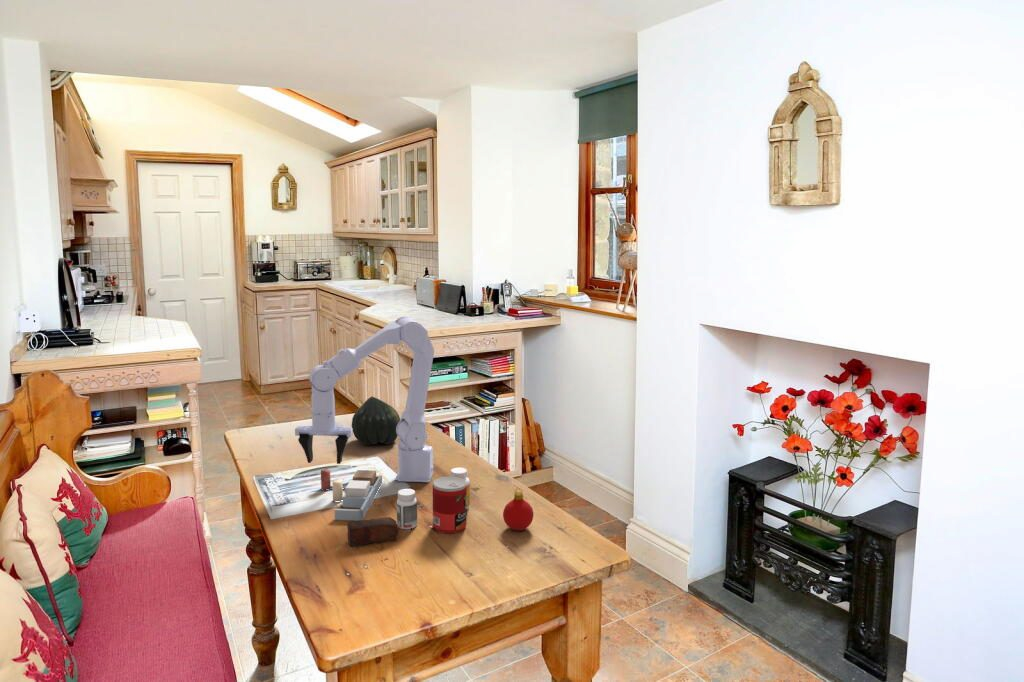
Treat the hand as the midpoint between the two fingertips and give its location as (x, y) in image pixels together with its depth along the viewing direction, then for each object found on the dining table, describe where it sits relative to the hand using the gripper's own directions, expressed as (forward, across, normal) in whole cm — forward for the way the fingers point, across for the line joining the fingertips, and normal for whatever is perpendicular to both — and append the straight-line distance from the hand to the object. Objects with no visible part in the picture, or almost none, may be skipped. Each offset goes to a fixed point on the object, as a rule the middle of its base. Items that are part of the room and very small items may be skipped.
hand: (324, 462), depth 187 cm
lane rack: (+7, +11, -7) cm, 15 cm away
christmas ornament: (+8, +51, -20) cm, 55 cm away
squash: (+8, +5, +38) cm, 39 cm away
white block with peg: (+7, +8, -7) cm, 13 cm away
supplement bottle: (+8, +36, -9) cm, 38 cm away
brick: (+8, +19, -28) cm, 35 cm away
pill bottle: (+8, +25, -20) cm, 33 cm away
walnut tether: (+7, +6, 0) cm, 9 cm away
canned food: (+8, +35, -20) cm, 41 cm away
